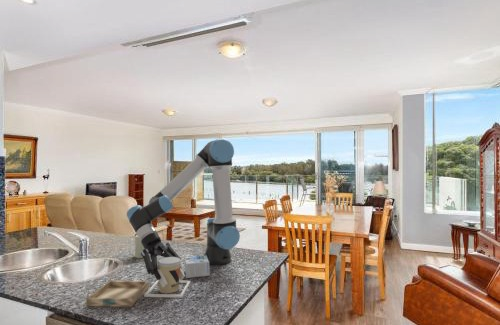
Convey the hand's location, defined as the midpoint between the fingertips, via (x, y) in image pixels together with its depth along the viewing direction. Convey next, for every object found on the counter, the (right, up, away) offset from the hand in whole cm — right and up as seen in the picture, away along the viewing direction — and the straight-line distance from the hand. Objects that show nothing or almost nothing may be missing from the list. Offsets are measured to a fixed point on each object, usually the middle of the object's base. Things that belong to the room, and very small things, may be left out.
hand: (174, 281), depth 115 cm
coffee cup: (-3, -4, +1) cm, 5 cm away
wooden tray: (-20, -3, -5) cm, 21 cm away
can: (-30, -5, +46) cm, 55 cm away
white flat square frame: (-3, -4, +2) cm, 5 cm away
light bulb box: (0, -1, +18) cm, 18 cm away
